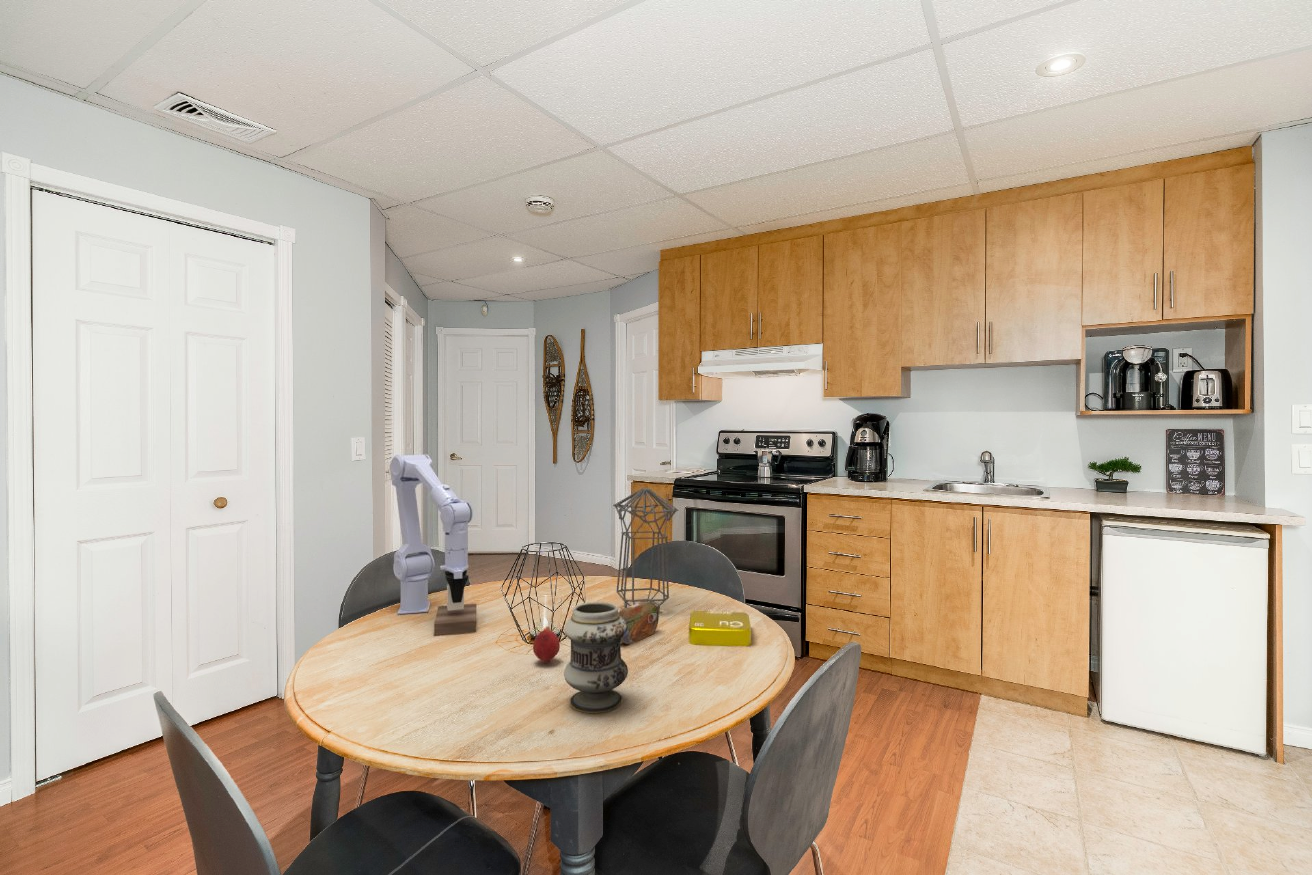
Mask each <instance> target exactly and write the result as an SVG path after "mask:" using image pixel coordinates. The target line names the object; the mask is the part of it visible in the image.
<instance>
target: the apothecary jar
mask: <svg viewBox="0 0 1312 875" xmlns="http://www.w3.org/2000/svg"><path fill="white" fill-rule="evenodd" d="M618 612H619V608H618V605H617V604H614V603H613V602H608V601H607V602H606V601H590V602H584V603H580V604H577V605H575V606H574V607H573V609H572V614H571V617H569V619H568V620H567V621H566V622H565V624H564V628H563V630H564V634H565V637H567V638H568V639H569V640H570V661H569V662H568V663H567V664H566V666H565V668H564V670H563V676H564V680H565V682H566V684H568V686H570V687H571V688H573V689H574V690H577V692H576V693H574V694H573V695H572V696H571V698H570V700H569V704H570V707H571V708H572V709H573V710H575V711H577V712H581V713H585V714H601V713H608V712H610V711H613V710H615V709H617V708H619V707H620V706H621V704H622V702H623V696H622V694H621V693H619V692H618V691H616V690H614V689H616V688H618V687H619V686H620V685H621V684H623V683H624V681H625V680H626V679H627V678H628V674H629V669H628V665H627V663H626V662H625V660H624V659H622V651H621V650H622V649H621V647H622V646H621V638H622V637H623V636H624V635H625V633H626V630H627V624H626V622H625V620H624V619H623V618H622V617H621V616H619V613H618Z"/></svg>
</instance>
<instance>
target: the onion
mask: <svg viewBox="0 0 1312 875" xmlns="http://www.w3.org/2000/svg"><path fill="white" fill-rule="evenodd" d="M550 629H551V627H550V626H548V625H546V626H545V627H544V628H543V630H542V631H541V632H539V633H538V634H537V635H536V637H535V638H534V639H533V644H532V645H533V646H532V649H533V650H532V651H533V653H534V656H535V657H536V658H537V659H539V660H540V661H541V662H543V663H545V664H548V663H550V661H552V660H553V659H554V658H555V657H556V656H557V655H558V654H559V652H560V646H561V644H560V639H559V637H558V635H557V634H556V633H555V632H554V631H552V630H550Z"/></svg>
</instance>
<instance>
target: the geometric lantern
mask: <svg viewBox="0 0 1312 875" xmlns="http://www.w3.org/2000/svg"><path fill="white" fill-rule="evenodd" d="M642 497H643V498H642ZM642 499H643V502H642V505H639V503H640V501H641V500H642ZM651 499H652V500H653V502H654V503H655V504H653V502H652V501H651ZM647 500H648V502H649V504H647ZM633 504H634V505H633ZM612 506H613V507H614V508H615V510H616V513H617V515H618V519H619V520H620V524H621V532H620V533H621V538H620V550H619V560H618V570H617V572H618V573H617V582H616V584H617V585H616V594H617V595H618V596H619V598H621V600H622V601H623V604H624V606H623V609H624V608H627V607H629V606H632V605H635V604H636V603H640V602H652V603H654V604H655V605H656V607H657V609H658V613H661V612H660V611H661V610H660V609H661V606H662V605H663V604H664V603H665V602H666V601H667V600H668V599H670V593H669V591H670V590H669V558H668V557H669V556H668V555H669V554H668V552H669V551H668V549H669V548H668V536H667V535H666V530H667V524H668V523H667V522H670V521H671V518H673V517H674V515H675V514H676V512H679V509H678V508H676V507H675V506H674V505H672V504H671V503H670V502H668V501H667V500H665V499H664V497H661V495H659V494H657V493H656V492H655V491H653V490H652V489H650V488H648V487H645V488H644V487H643V488H640V489H639V490H637V491H636V492H634V493H632V494H630V495H629V496H626V497H625V498H623V499H621V500H620V501H618V502H616V503H615V504H613V505H612ZM658 507H661V508H662V510H658V511H655V509H656V508H658ZM630 508H631V510H629V509H630ZM647 508H651V509H650V510H649V511H647ZM637 512H638V513H639V512H640V513H642V514H643V515H641V514H638V513H637ZM627 513H628V514H630V515H631V516H632V518H631V521H630V522H629V524H628V527H627V525H626V522H625V517H626V514H627ZM661 513H662V514H663V515H661V516H659V517H658V518H657V516H656V514H661ZM649 514H650V515H651V514H654V515H653V517H654V519H653V520H647V519H646V517H647V516H649ZM635 517H637V518H639V519H640V520H641V521H642V523H641V524H640V526H639V527H638V528H637V530H636V531H629V529H630V528H631V526H632V524H633V522H634V519H635ZM663 518H664V519H663ZM662 519H663V520H662ZM660 520H662V523H661V525H660V526H659V524H658V521H660ZM653 523H655V526H656V527H657V530H658V531H654V529H653V527H652V526H651V525H650V524H653ZM644 524H648V526H649V528H650V531H649V530H648V531H642V530H641V531H640V529H641V528H642V526H643V525H644ZM664 524H665V526H664ZM623 526H624V527H623ZM663 526H664V534H663V533H662V531H661V530H662V528H663ZM624 529H625V531H624ZM645 533H646V534H647V533H649V534H650V533H652V536H651V537H635V535H636V534H645ZM630 534H633V535H632V536H630ZM655 534H656V535H657V537H656V536H655ZM624 536H625V542H624ZM651 539H652V542H651V543H652V546H651V561H650V562H651V564H650V565H651V566H650V567H651V568H650V584H649V587H647V588H646V587H645V588H642V587H641V588H635V556H636V555H635V554H636V552H635V547H636V546H635V545H636V544H635V543H636V542H635V540H651ZM664 539H665V551H664ZM631 540H632V558H631V559H632V564H631V565H632V572H631V577H632V579H631V588H628V589H627V582H628V581H627V580H628V571H629V570H628V568H629V558H630V557H629V556H630V543H631ZM655 540H657V588H653V578H654V577H653V575H654V574H653V573H654V556H655V555H654V554H655ZM660 541H661V542H660ZM660 543H661V544H660ZM623 544H624V546H623ZM660 545H661V547H660ZM623 547H624V552H623ZM660 548H661V553H660ZM664 552H665V554H664ZM660 554H661V559H660ZM622 555H623V561H622ZM664 560H665V561H664ZM660 562H661V563H660ZM621 565H622V572H621ZM660 566H661V567H662V568H661V567H660ZM661 570H662V571H661ZM665 571H666V574H665ZM661 572H662V590H661ZM620 575H622V576H620ZM620 577H621V578H620ZM665 577H666V583H665ZM620 579H621V582H620ZM620 583H621V586H620ZM665 584H666V585H665ZM665 586H666V587H665ZM619 587H620V589H619ZM665 588H666V589H665ZM635 591H638V592H639V591H649V592H648V594H647V598H641V599H635ZM651 591H655V594H654V595H653V596H652V597H651V598H650V596H651ZM626 592H631V599H628V598H626V595H627V594H626ZM659 593H660V594H661V595H662V598H659V599H658V598H656V599H655V597H656V596H657V594H659ZM629 602H630V603H631V602H632V605H631V604H630V603H629ZM657 602H661V603H657Z"/></svg>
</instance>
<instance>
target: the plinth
mask: <svg viewBox="0 0 1312 875" xmlns="http://www.w3.org/2000/svg"><path fill="white" fill-rule="evenodd" d="M475 632H476V633H477V603H464V609H460V610H450V611H448V609H447V605H439V606H437V611H436V615H435V619H434V622H433V637H436V636H437V637H439V636H440V635H441V636H449V635H450V636H451V635H462V634H463V633H465V634H474V633H475ZM476 633H475V634H476Z"/></svg>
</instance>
